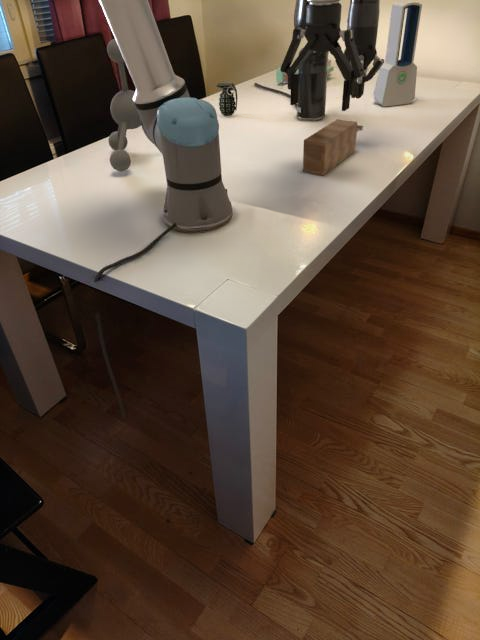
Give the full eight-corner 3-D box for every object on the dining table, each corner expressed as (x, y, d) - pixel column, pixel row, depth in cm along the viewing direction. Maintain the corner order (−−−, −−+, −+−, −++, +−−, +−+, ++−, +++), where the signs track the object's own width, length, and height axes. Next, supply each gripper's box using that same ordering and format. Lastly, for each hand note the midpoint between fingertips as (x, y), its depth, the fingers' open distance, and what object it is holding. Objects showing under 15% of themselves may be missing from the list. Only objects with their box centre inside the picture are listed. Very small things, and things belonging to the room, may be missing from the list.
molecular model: (194, 162, 134) (180, 38, 116) (114, 177, 128) (87, 49, 110) (171, 138, 152) (156, 27, 133) (100, 151, 146) (75, 36, 127)
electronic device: (382, 107, 168) (394, 4, 149) (371, 102, 174) (382, 2, 155) (414, 102, 170) (430, 0, 152) (403, 98, 176) (417, -1, 158)
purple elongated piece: (348, 138, 142) (349, 115, 138) (363, 140, 140) (365, 117, 136) (310, 164, 127) (311, 140, 123) (326, 167, 124) (328, 143, 121)
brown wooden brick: (334, 148, 138) (337, 119, 133) (354, 151, 135) (357, 121, 130) (302, 171, 126) (303, 140, 121) (323, 175, 123) (325, 143, 118)
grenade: (217, 117, 168) (214, 86, 162) (221, 112, 172) (219, 82, 166) (235, 117, 166) (233, 86, 160) (239, 113, 171) (238, 82, 165)
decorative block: (299, 55, 215) (340, 58, 206) (298, 71, 219) (339, 75, 210) (267, 66, 199) (310, 70, 190) (267, 83, 203) (309, 88, 194)
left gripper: (386, 0, 102) (374, 107, 115) (281, 0, 113) (281, 98, 126) (373, 5, 97) (362, 116, 110) (265, 4, 108) (267, 105, 121)
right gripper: (394, 21, 121) (385, 96, 131) (344, 20, 127) (339, 92, 137) (383, 26, 116) (374, 103, 126) (331, 24, 122) (327, 98, 133)
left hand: (319, 106), depth 118 cm, fingers open, 13 cm apart
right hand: (356, 97), depth 132 cm, fingers closed
